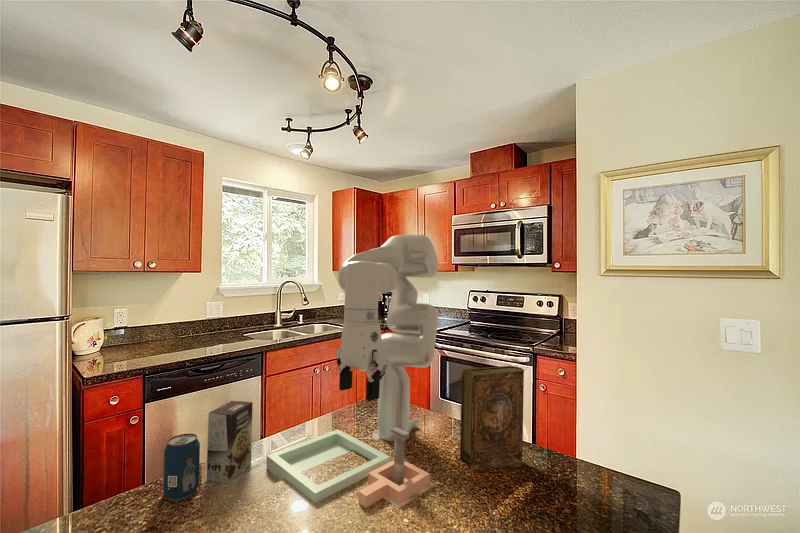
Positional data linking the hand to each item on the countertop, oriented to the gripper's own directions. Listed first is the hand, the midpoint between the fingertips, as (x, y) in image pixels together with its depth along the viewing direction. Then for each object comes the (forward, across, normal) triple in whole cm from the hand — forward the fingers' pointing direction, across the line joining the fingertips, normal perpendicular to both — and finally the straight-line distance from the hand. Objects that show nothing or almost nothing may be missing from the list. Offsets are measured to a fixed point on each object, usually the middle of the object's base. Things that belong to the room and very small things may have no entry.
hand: (358, 394), depth 82 cm
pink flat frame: (+22, -4, -7) cm, 23 cm away
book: (+22, -12, -36) cm, 44 cm away
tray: (+23, +15, -3) cm, 27 cm away
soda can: (+24, +29, +27) cm, 46 cm away
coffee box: (+23, +30, +16) cm, 41 cm away
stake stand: (+23, -4, -10) cm, 25 cm away
